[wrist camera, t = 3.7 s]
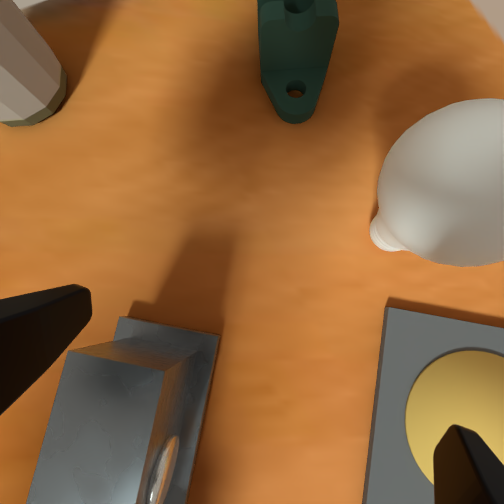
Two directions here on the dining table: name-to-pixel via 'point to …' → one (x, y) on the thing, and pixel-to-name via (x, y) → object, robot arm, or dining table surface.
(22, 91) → the bottle
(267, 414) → the dining table surface
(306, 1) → the mount
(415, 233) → the lightbulb
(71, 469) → the lamp housing
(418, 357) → the parts mat
